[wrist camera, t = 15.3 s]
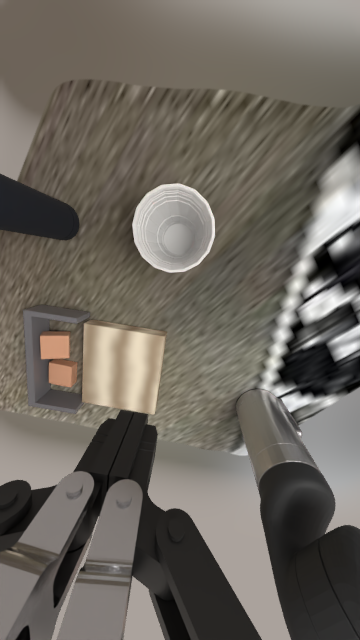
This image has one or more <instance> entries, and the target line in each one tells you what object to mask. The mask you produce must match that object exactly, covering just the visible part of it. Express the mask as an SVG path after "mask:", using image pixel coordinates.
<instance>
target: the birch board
mask: <svg viewBox="0 0 360 640" xmlns="http://www.w3.org/2000/svg"><path fill="white" fill-rule="evenodd" d="M166 336H167V332H166V331H159V330H153V329H147V328H141V327H135V326H129V325H122V324H116V323H110V322H104V321H98V320H92V319H91V320H89V321H87V322H86V323H84V341H83V382H82V402H85V403H91V404H97V405H103V406H108V407H114V408H120V409H126V410H132V411H137V412H143V413H149V414H155V411H156V407H157V401H158V394H159V386H160V379H161V372H162V365H163V358H164V350H165V343H166Z"/></svg>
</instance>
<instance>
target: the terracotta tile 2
mask: <svg viewBox="0 0 360 640" xmlns="http://www.w3.org/2000/svg"><path fill="white" fill-rule="evenodd" d="M76 381H77V362H73V361H68V360H63V359H53V360H52V361H50V362H49V383H51V384H56V385H61V386H66V387H72V386H73V385H74V384H75V383H76Z"/></svg>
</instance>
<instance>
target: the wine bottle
mask: <svg viewBox="0 0 360 640" xmlns="http://www.w3.org/2000/svg"><path fill="white" fill-rule="evenodd" d="M78 229H79V218H78V216H77V213H76V212H75V211H74V209H73V208H72V207H70V206H69V205H68V204H65V203H63V202H61V201H59V200H57V199H54V198H52V197H50V196H48V195H46V194H43V193H41V192H39V191H37V190H35V189H33V188H30V187H28V186H26V185H24V184H22V183H19V182H17V181H15V180H13V179H10V178H8V177H6V176H4V175H2V174H0V230H6V231H12V232H17V233H23V234H29V235H35V236H41V237H47V238H53V239H59V240H69V239H72V238H73V237H74V236H75V235H76V234H77V232H78Z"/></svg>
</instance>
